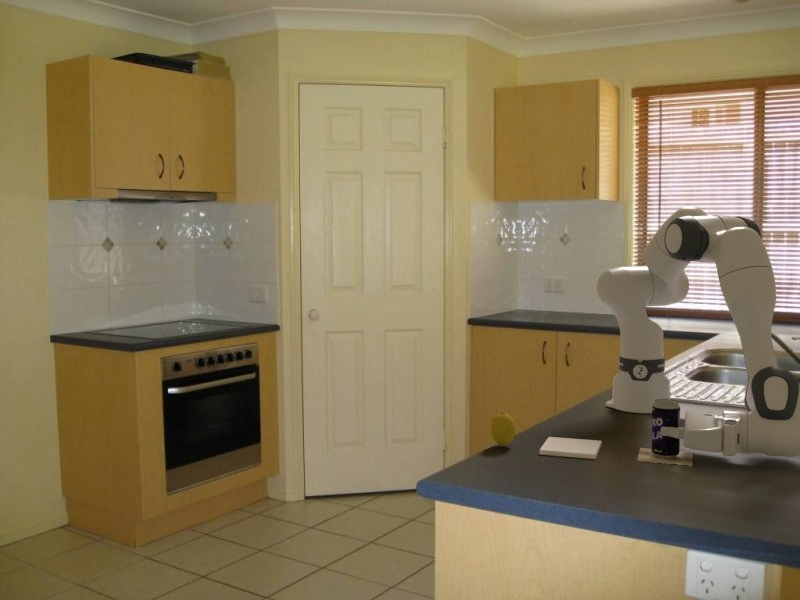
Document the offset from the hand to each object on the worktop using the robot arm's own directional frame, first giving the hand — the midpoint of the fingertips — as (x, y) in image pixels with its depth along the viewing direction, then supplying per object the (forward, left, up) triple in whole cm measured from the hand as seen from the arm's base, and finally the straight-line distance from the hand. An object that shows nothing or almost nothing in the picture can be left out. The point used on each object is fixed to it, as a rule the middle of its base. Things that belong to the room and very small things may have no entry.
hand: (661, 426), depth 174 cm
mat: (0, -19, -7) cm, 20 cm away
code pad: (0, +1, -7) cm, 7 cm away
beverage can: (0, +1, -7) cm, 7 cm away
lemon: (+2, -34, -7) cm, 35 cm away
